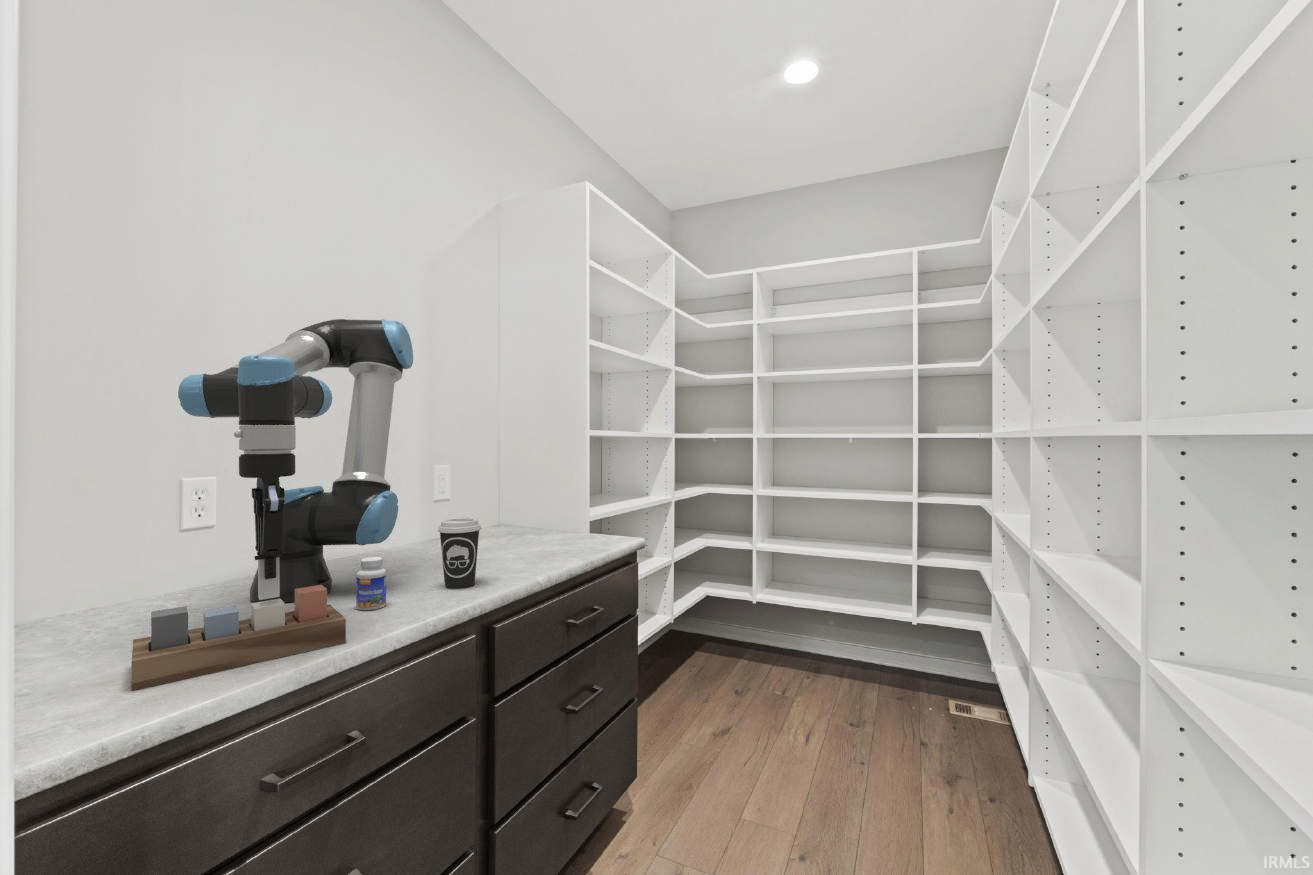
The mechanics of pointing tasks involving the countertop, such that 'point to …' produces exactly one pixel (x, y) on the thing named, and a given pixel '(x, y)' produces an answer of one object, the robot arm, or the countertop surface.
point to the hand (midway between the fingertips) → (269, 597)
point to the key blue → (221, 623)
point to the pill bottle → (371, 584)
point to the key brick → (310, 603)
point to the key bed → (233, 649)
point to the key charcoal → (169, 628)
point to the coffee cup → (459, 551)
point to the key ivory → (267, 614)
